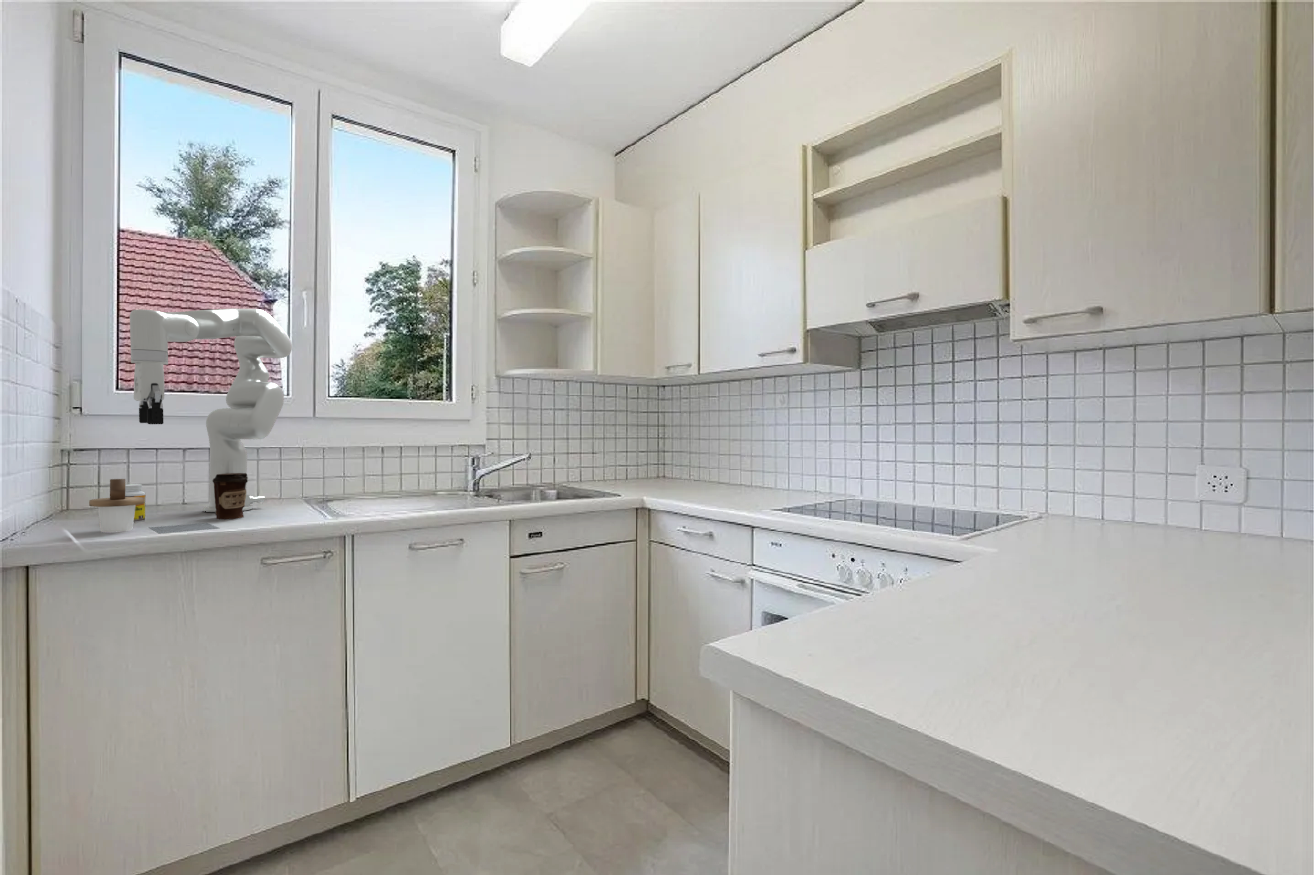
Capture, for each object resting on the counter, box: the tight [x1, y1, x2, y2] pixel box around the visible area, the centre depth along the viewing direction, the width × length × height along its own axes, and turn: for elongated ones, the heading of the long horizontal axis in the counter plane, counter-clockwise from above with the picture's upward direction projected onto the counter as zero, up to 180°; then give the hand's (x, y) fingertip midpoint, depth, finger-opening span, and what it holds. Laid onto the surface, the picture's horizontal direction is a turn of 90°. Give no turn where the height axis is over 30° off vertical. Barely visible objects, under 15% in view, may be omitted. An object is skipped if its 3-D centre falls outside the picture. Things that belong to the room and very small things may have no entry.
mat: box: [148, 522, 219, 535], centre depth 153 cm, size 12×12×1 cm
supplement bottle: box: [125, 483, 147, 523], centre depth 163 cm, size 6×6×10 cm
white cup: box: [97, 505, 136, 534], centre depth 148 cm, size 7×7×7 cm
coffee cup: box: [213, 473, 249, 520], centre depth 172 cm, size 9×8×13 cm
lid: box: [88, 478, 146, 508], centre depth 148 cm, size 10×10×6 cm
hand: (151, 423), depth 161 cm, fingers open, 9 cm apart
